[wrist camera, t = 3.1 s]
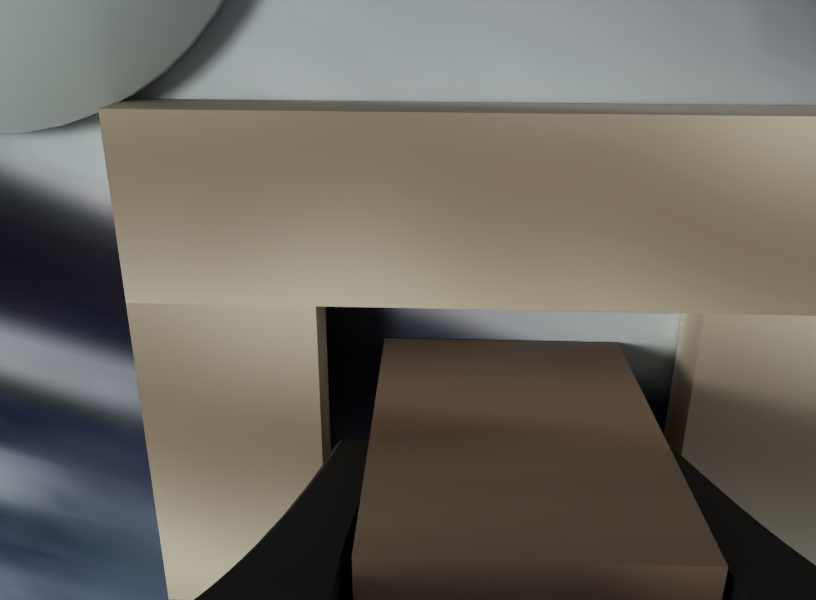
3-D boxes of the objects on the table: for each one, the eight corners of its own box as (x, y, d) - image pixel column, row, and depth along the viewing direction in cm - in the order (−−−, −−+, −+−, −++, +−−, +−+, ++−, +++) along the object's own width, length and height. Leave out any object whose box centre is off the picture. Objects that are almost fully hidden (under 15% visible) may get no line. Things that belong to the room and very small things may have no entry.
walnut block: (595, 531, 15) (677, 819, 10) (386, 526, 15) (359, 807, 10) (618, 343, 13) (728, 567, 8) (384, 337, 13) (351, 555, 8)
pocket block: (770, 693, 16) (790, 736, 15) (199, 674, 17) (185, 715, 16) (916, 107, 12) (957, 118, 11) (123, 98, 12) (97, 109, 11)
